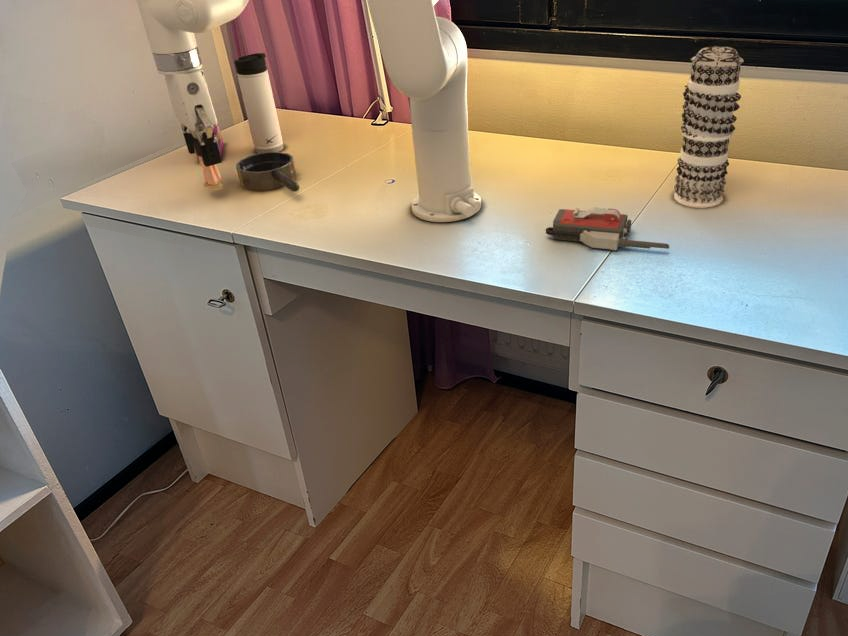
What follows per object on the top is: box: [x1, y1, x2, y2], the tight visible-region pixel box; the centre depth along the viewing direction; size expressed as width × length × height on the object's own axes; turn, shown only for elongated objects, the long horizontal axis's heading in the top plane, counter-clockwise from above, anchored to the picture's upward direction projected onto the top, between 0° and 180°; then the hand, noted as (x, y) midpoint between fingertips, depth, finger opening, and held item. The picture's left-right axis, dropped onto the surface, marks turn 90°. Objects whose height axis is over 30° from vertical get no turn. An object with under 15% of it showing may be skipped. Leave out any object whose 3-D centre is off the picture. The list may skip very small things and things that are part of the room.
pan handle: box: [273, 170, 300, 193], centre depth 139 cm, size 10×2×2 cm, turn 36°
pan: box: [235, 151, 297, 192], centre depth 146 cm, size 11×11×4 cm
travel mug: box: [234, 52, 285, 154], centre depth 156 cm, size 6×7×20 cm
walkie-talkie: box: [545, 207, 670, 251], centre depth 118 cm, size 9×4×20 cm
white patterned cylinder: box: [673, 45, 744, 209], centre depth 123 cm, size 9×9×25 cm
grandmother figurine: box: [186, 124, 224, 191], centre depth 137 cm, size 8×4×13 cm, turn 47°
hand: (205, 157), depth 137 cm, fingers closed on grandmother figurine, 8 cm apart
